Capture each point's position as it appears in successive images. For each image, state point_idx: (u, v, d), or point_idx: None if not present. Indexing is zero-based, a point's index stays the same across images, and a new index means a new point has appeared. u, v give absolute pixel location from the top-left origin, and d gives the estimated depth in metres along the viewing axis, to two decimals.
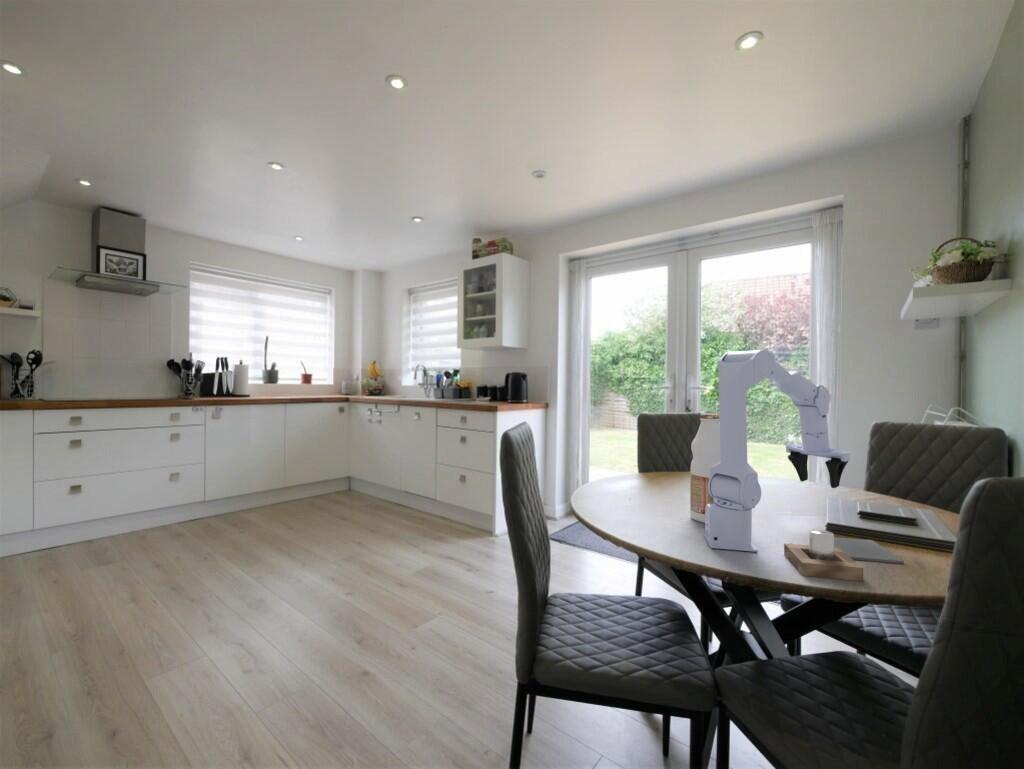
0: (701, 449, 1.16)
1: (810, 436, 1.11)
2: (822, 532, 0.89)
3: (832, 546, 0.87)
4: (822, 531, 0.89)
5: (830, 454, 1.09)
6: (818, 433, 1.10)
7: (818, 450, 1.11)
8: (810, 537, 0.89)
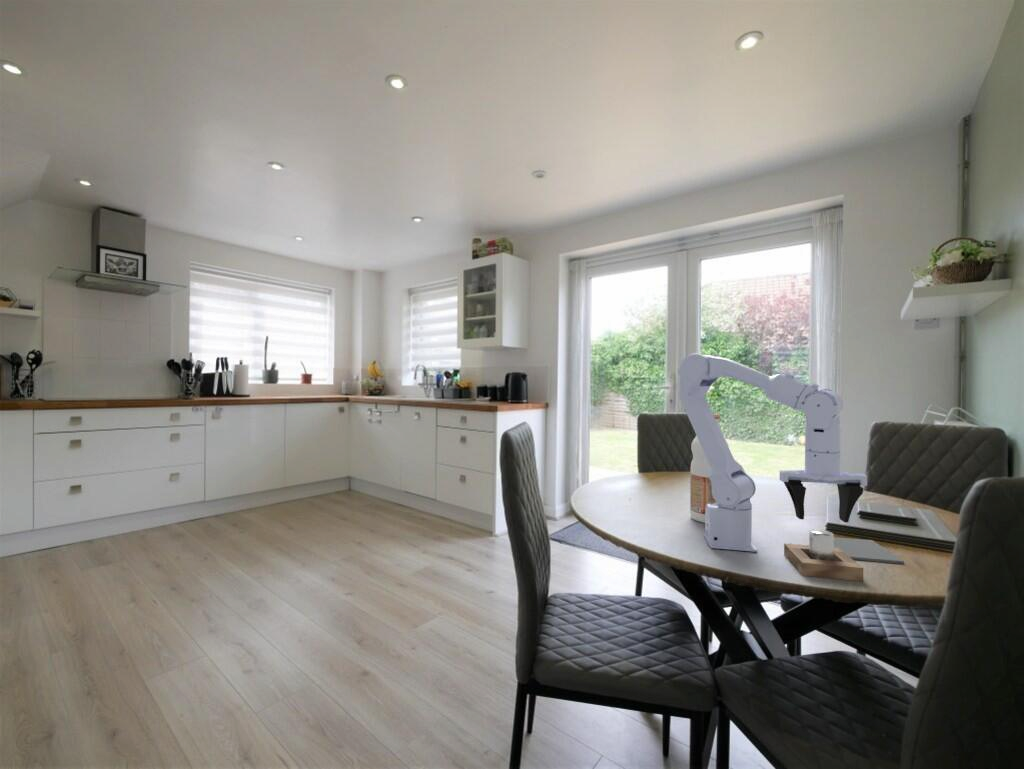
0: (701, 449, 1.16)
1: None
2: (822, 532, 0.89)
3: (832, 546, 0.87)
4: (822, 531, 0.89)
5: None
6: None
7: None
8: (810, 537, 0.89)
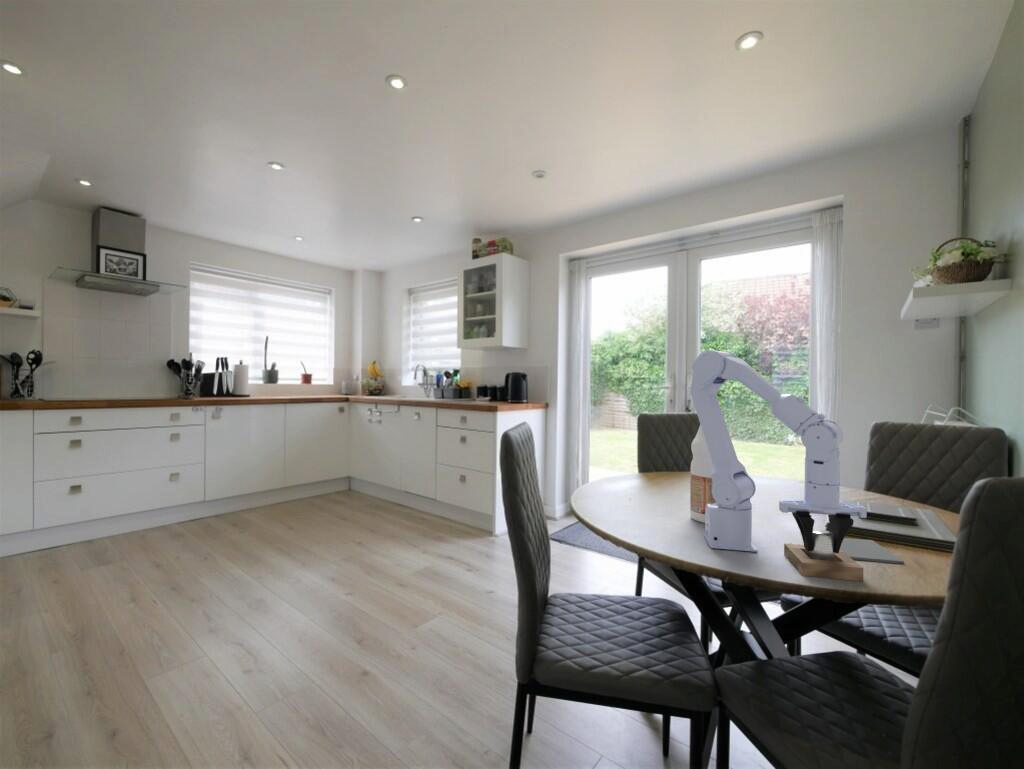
0: (701, 449, 1.16)
1: None
2: (822, 532, 0.89)
3: (832, 546, 0.87)
4: (822, 531, 0.89)
5: None
6: None
7: None
8: None
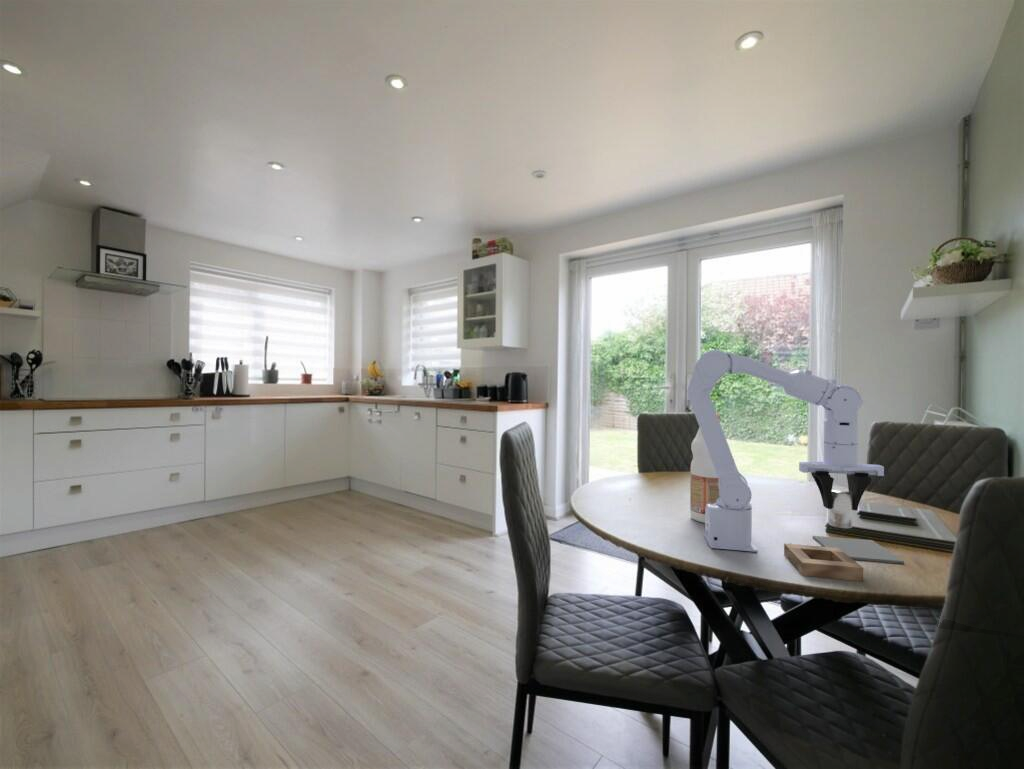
0: (701, 449, 1.16)
1: None
2: (841, 491, 0.93)
3: (851, 504, 0.91)
4: (842, 491, 0.93)
5: None
6: None
7: None
8: None
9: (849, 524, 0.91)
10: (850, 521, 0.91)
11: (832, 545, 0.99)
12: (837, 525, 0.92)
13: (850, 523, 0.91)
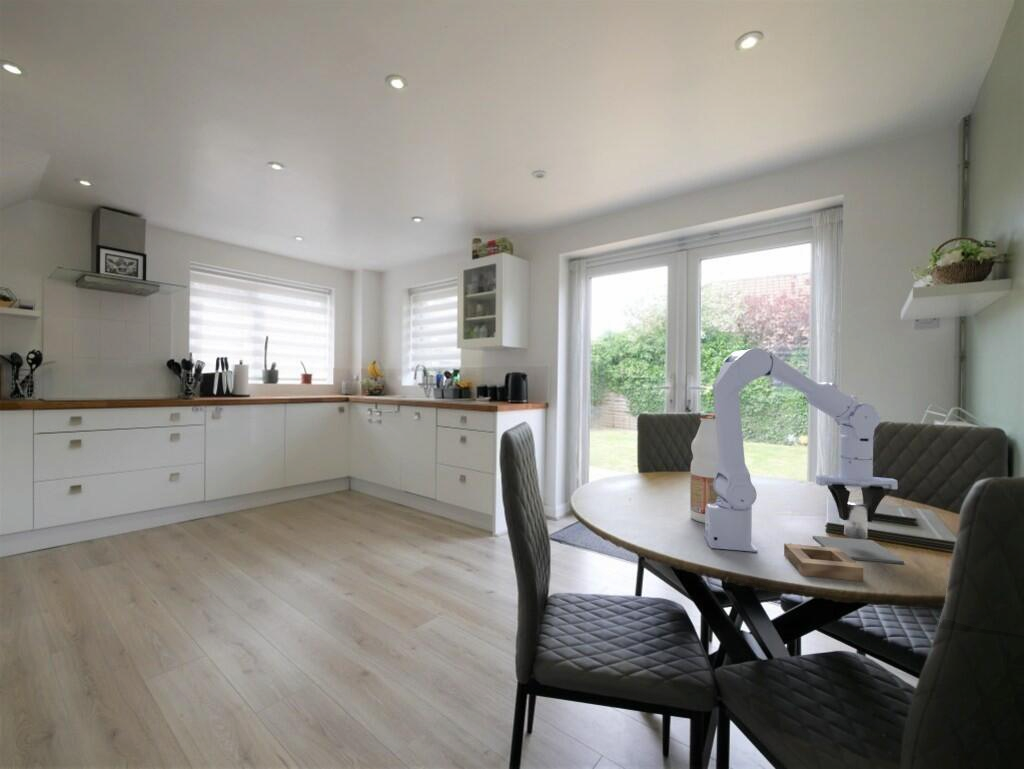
0: (701, 449, 1.16)
1: None
2: (857, 503, 0.97)
3: (866, 516, 0.95)
4: (857, 503, 0.98)
5: None
6: None
7: None
8: None
9: (864, 535, 0.95)
10: (865, 532, 0.95)
11: (832, 545, 0.99)
12: (852, 536, 0.96)
13: (865, 534, 0.95)
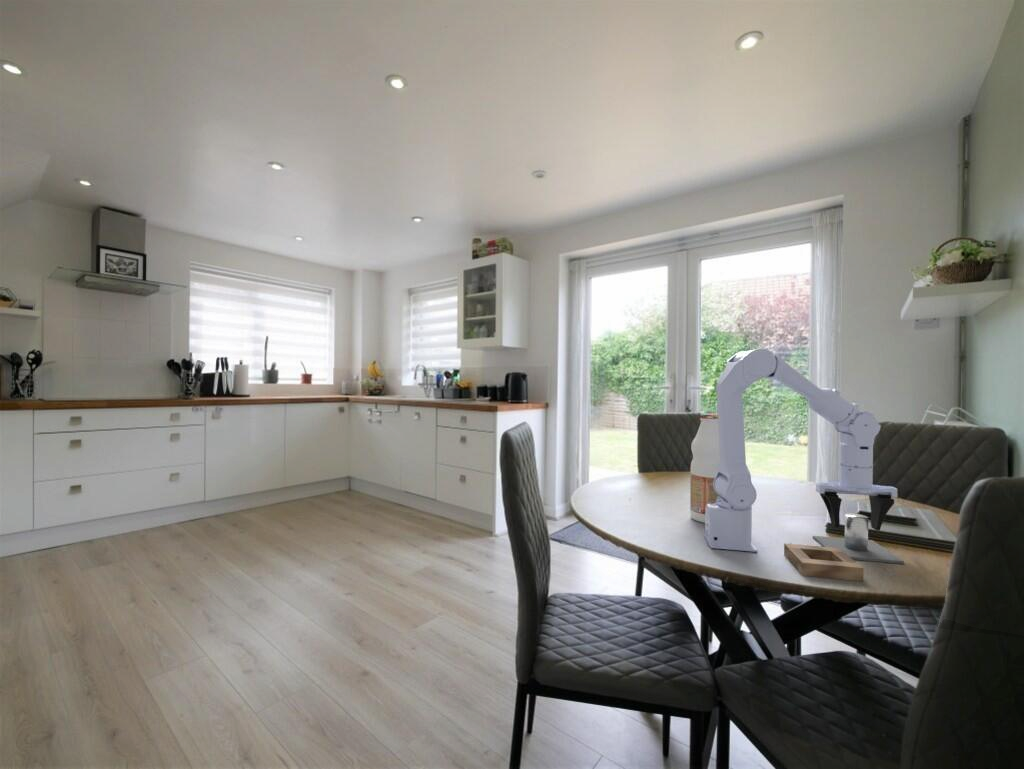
0: (701, 449, 1.16)
1: None
2: (857, 515, 0.97)
3: (866, 528, 0.96)
4: (857, 515, 0.98)
5: None
6: None
7: None
8: (845, 520, 0.98)
9: (865, 548, 0.95)
10: (866, 545, 0.95)
11: (832, 545, 0.99)
12: (853, 548, 0.96)
13: (866, 546, 0.95)
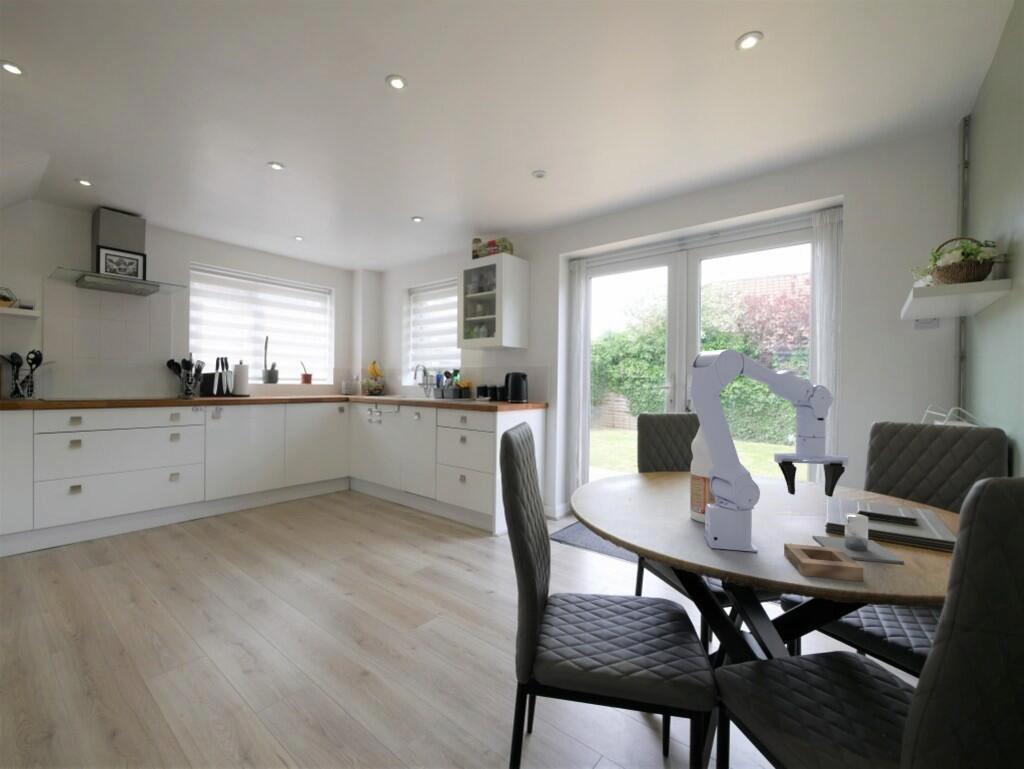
0: (701, 449, 1.16)
1: None
2: (857, 515, 0.97)
3: (866, 528, 0.96)
4: (857, 515, 0.98)
5: None
6: None
7: None
8: (845, 519, 0.98)
9: (865, 547, 0.95)
10: (866, 544, 0.95)
11: (832, 545, 0.99)
12: (853, 548, 0.96)
13: (866, 546, 0.95)
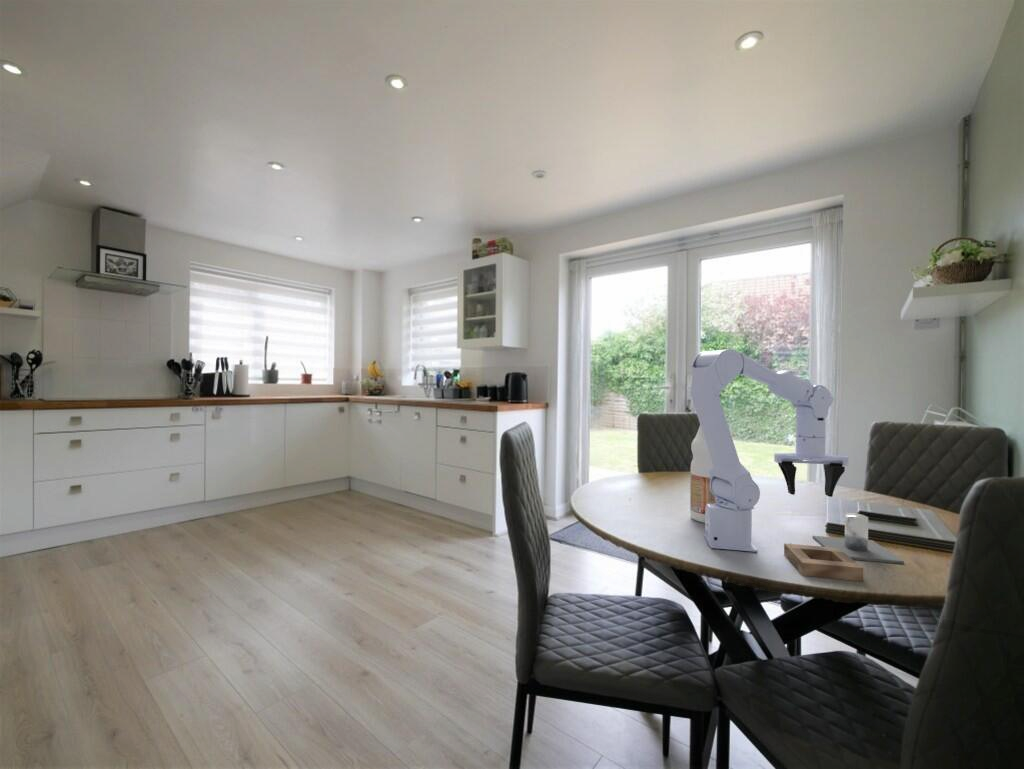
0: (701, 449, 1.16)
1: None
2: (857, 515, 0.97)
3: (866, 528, 0.95)
4: (857, 515, 0.97)
5: None
6: None
7: None
8: (845, 520, 0.98)
9: (865, 548, 0.95)
10: (865, 545, 0.95)
11: (832, 545, 0.99)
12: (853, 548, 0.96)
13: (865, 547, 0.95)
